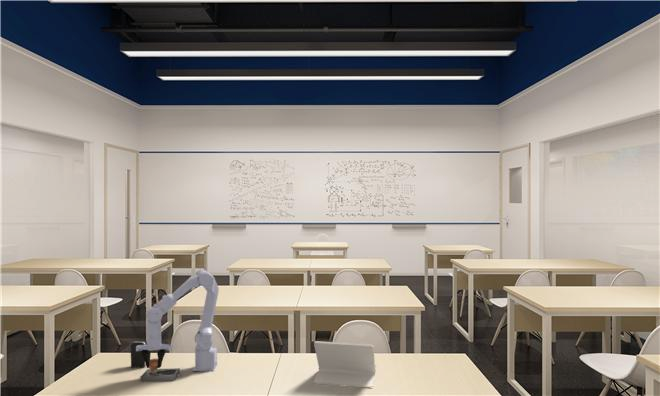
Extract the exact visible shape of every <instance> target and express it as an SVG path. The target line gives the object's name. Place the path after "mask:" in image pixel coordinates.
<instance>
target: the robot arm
mask: <svg viewBox="0 0 660 396" xmlns="http://www.w3.org/2000/svg"><path fill="white" fill-rule="evenodd" d="M200 286H202V287H203V288H204V290H205V291H206V296H205V298H204V299H205V300H204V306H203V311H202V316H201V321H200V326H198V329H197V332H196V334H195V335H194V342H195V344H196V346H195V348H194V355H195V356H194V358H195V359H194V363H195V365H194V367H193V369H192V372H206V371H207V372H210V371H214V370H215V369H216V367H217V366H218V349H217V347H213V343H214V342H213V337H212V336H213V329H212V327H213V322H214V317H215V311H216V306H217V303H218V296H219V291H220V289H219V286H218V283H217V281H216V278H215V276H213V274H212V273H210V272H209V271H207V270H206V269H198V270H197V271H196V272H195V273H193V274H192V275H191V276H190V277H189V278H188V279H186V281H185V282H183V283H181V285H180V286H179V287H178V288H177V289H176V290H175V291H173V293H168V294H166V295H165V294H164V295H163V296H162V298H161V299H160V300H159V301H157V302H156V303H154V304H153V305H152V306H151V307H149V308H148V309H147V311H146V313H145V317H146V318H147V321H146V342H147V345H138V346H137V347H136V351H142V353H141V355H142V357H143V358H144V360H145V363H146V366H145V367H146V369H149V360H151V353H152V351H157V354H156V355H157V359H158V368H157V369H161V367H162V365H163V359H164V357H165V355H166V353H167V351H170V352H171V350H172V349H173V345H172V344H166V343H162V323H161V322H162V321H161V320H162V318H163V315H165V314H166V313H168V311H170V310H171V309H172V308H174V306H176V305H177V301H178V300H179V299H180V297H182V296H183V295H185V294H186V293H187V292H188V291H190V290H191V289H192V288H200Z"/></svg>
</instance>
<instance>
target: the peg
mask: <svg viewBox="0 0 660 396" xmlns="http://www.w3.org/2000/svg"><path fill="white" fill-rule="evenodd" d="M148 369H151V374H157V369H159V368H158V358H150V360H149V368H148Z"/></svg>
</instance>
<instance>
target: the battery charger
mask: <svg viewBox="0 0 660 396" xmlns="http://www.w3.org/2000/svg"><path fill="white" fill-rule="evenodd" d="M138 345H147V340H135V341H133V342H132V343H131V344H130V367H131V368H145V367H147V366H146V363H145V360H144V358H143V357H142V355H141V353H142V351H136V347H137V346H138Z"/></svg>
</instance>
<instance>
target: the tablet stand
mask: <svg viewBox="0 0 660 396" xmlns="http://www.w3.org/2000/svg"><path fill="white" fill-rule="evenodd" d="M313 345H314V350H315V354H316V360H317V366H318V372H317V374H316V375H315V377H314V378H313V382H312V383H313V384H315V385H325V386H326V385H327V386H336V385H346V386H345V387H349V386H357V387H356V388H361V387H373V388H374V385H375V380H374V379H375V378H376V375H375V373H376V374H377V365H376V363H375V352H374V351H375V350H374V349H375V348H374V345H373V344H367V343H355V342H354V343H351V342H350V343H349V342H336V341H320V340H319V341H318V340H317V341H316V340H315V341H314V342H313ZM373 384H374V385H373Z"/></svg>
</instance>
